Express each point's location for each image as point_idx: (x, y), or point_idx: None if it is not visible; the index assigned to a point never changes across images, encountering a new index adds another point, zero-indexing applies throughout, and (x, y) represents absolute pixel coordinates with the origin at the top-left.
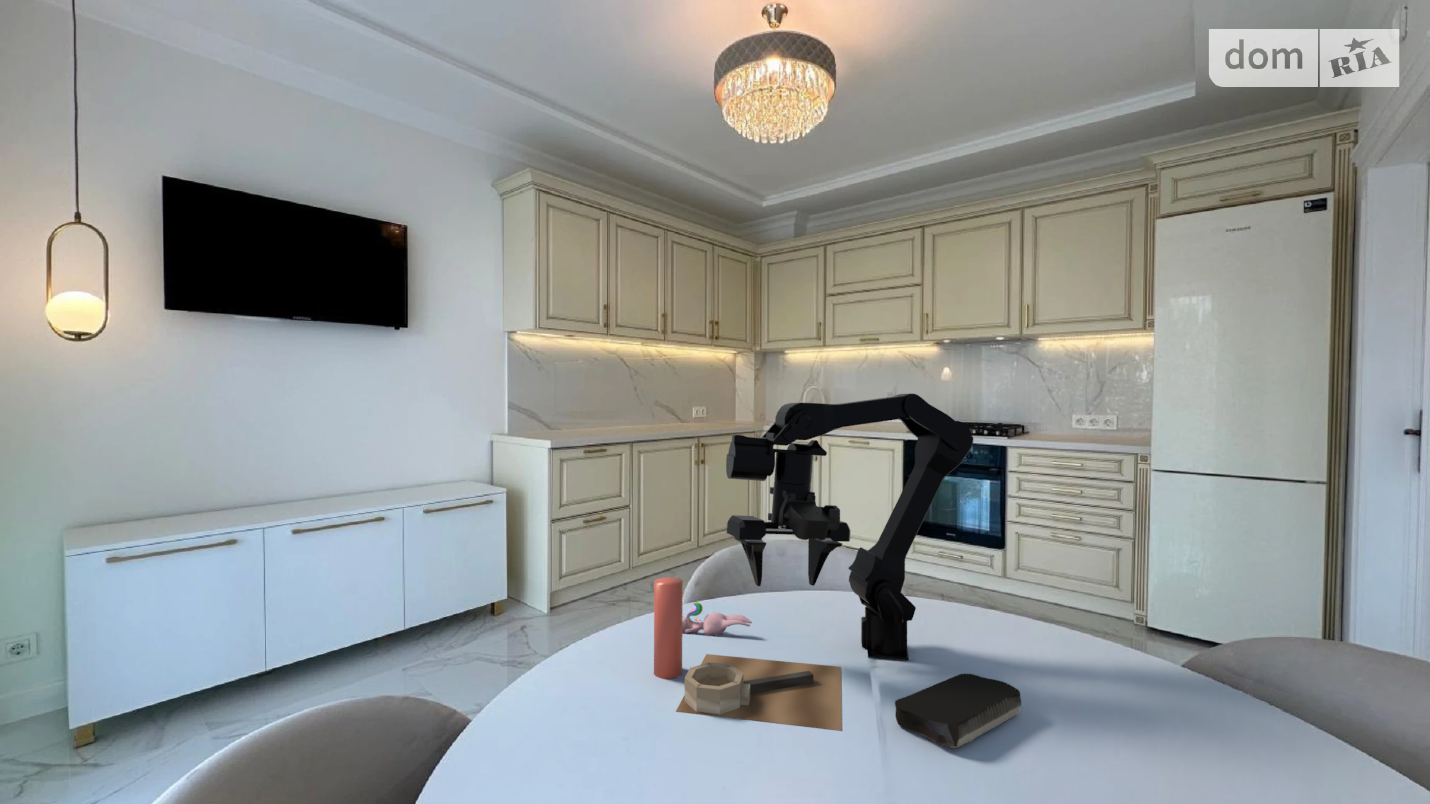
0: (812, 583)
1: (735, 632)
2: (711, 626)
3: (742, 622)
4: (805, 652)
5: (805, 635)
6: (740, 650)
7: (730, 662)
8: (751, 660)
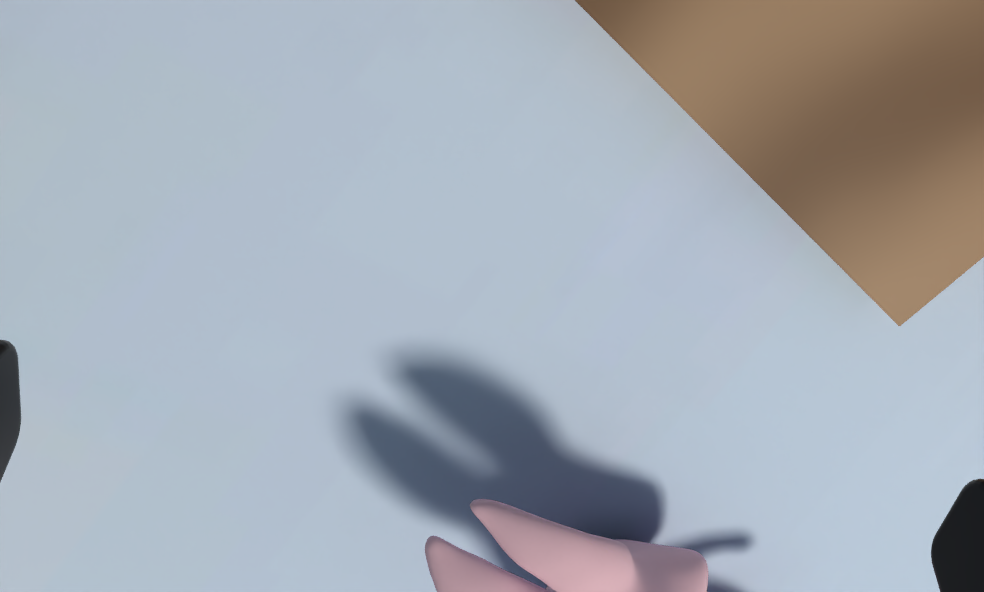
0: (1, 358)
1: None
2: (685, 585)
3: (531, 532)
4: (194, 129)
5: (21, 368)
6: (594, 350)
7: (874, 152)
8: (739, 109)
